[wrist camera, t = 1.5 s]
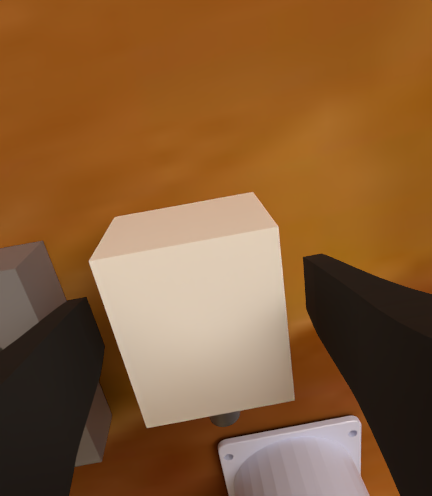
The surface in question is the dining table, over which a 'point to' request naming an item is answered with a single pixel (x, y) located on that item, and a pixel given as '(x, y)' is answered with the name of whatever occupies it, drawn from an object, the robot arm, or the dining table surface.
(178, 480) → the dining table surface
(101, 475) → the dining table surface
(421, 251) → the dining table surface
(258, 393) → the plug
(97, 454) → the socket plate
